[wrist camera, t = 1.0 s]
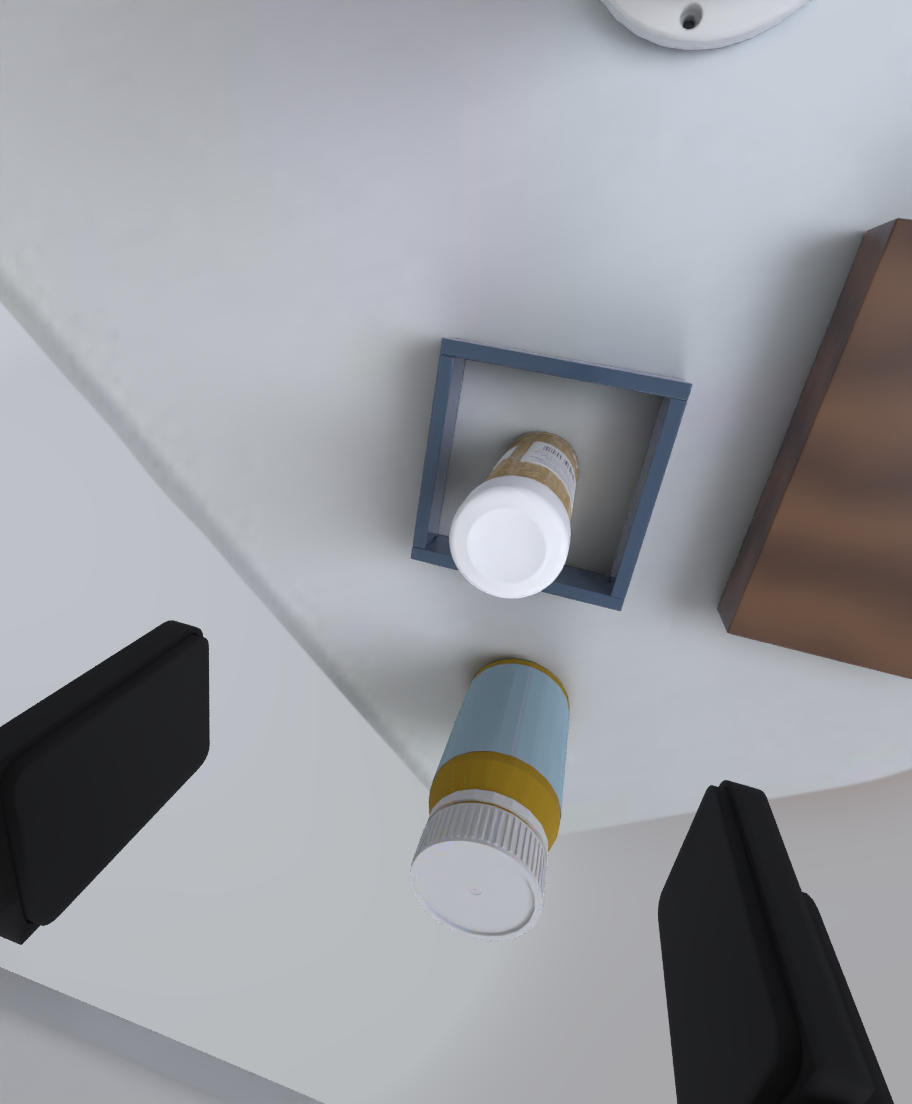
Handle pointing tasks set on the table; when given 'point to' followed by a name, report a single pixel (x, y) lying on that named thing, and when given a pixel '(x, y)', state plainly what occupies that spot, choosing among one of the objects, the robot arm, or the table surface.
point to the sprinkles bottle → (518, 519)
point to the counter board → (842, 485)
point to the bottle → (495, 804)
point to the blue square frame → (673, 390)
